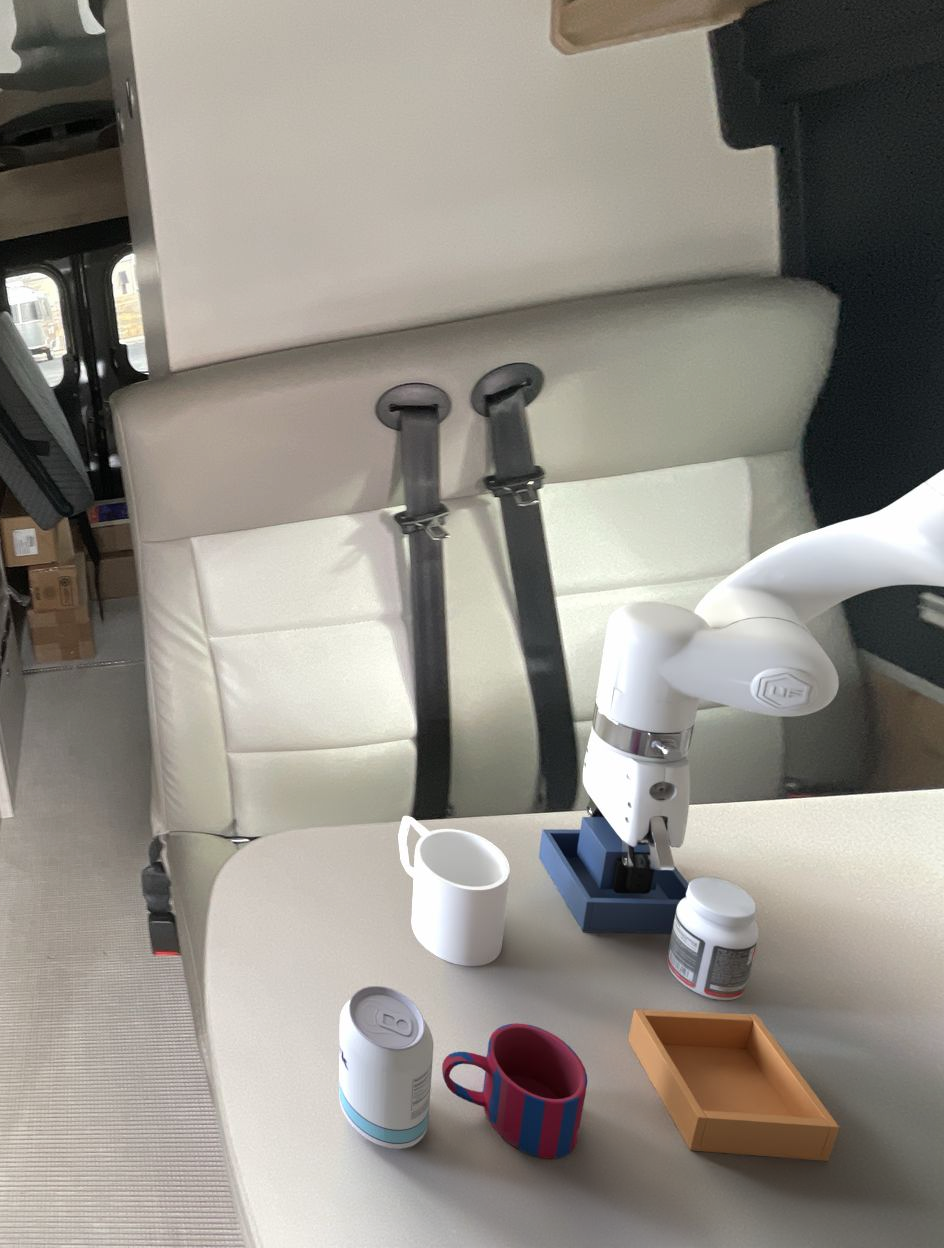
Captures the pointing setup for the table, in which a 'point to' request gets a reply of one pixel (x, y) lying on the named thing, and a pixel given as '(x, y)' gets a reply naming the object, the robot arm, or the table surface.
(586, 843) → the block
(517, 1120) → the cup
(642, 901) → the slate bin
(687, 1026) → the tan bin
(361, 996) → the beverage can
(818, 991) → the table surface
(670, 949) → the pill bottle
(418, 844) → the cup
